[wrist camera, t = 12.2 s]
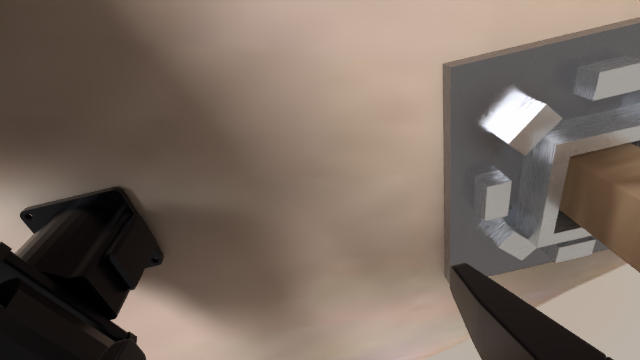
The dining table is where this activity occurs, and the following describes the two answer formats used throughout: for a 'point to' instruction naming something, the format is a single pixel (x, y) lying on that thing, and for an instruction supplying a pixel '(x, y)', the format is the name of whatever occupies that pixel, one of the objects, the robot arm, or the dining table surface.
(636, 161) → the tan tall block
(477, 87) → the grey square base plate
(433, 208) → the dining table surface
